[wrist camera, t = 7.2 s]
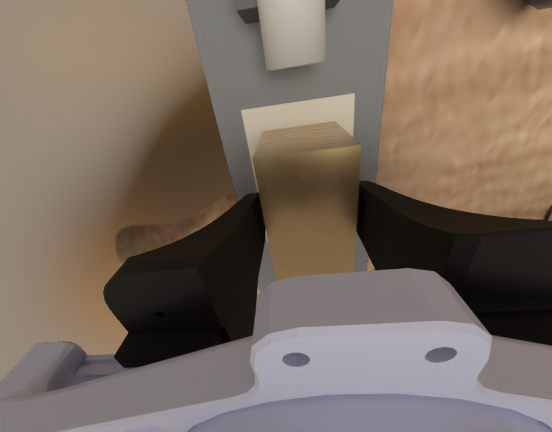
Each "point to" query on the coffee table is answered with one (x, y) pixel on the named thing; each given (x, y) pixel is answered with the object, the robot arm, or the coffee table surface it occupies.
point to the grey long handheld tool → (540, 3)
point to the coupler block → (309, 198)
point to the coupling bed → (293, 78)
